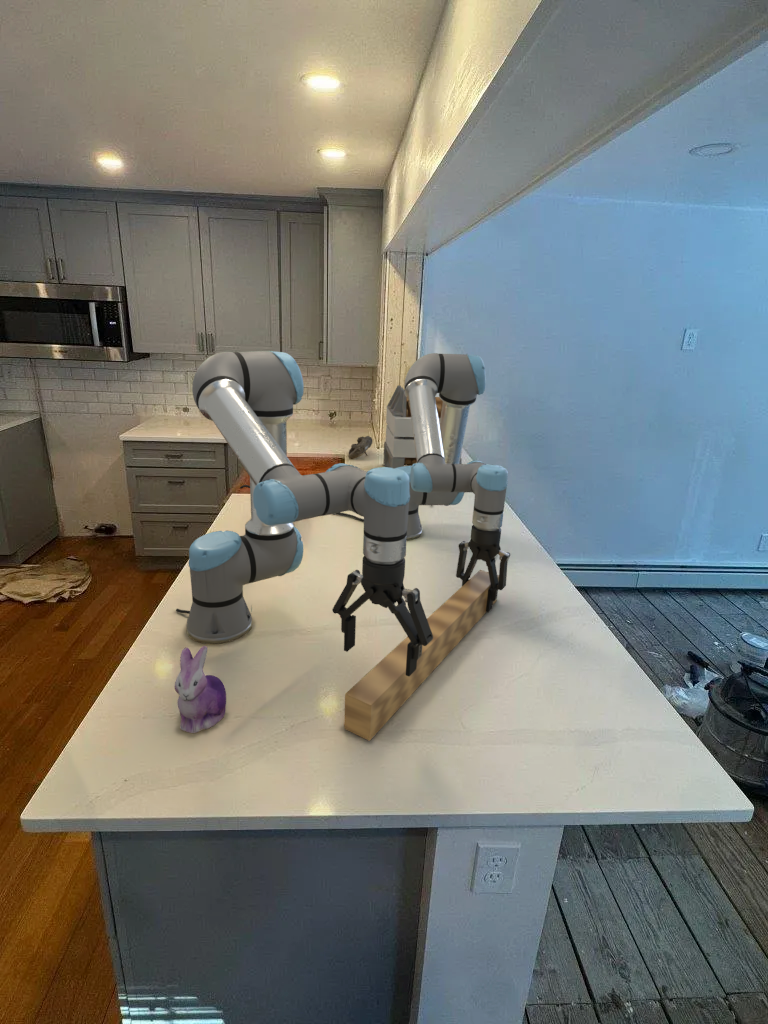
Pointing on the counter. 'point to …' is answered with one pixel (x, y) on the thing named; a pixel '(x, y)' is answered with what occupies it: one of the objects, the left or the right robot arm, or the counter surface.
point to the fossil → (360, 447)
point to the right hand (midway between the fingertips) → (477, 606)
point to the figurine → (198, 693)
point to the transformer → (401, 431)
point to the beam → (388, 680)
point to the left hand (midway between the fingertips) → (379, 659)
